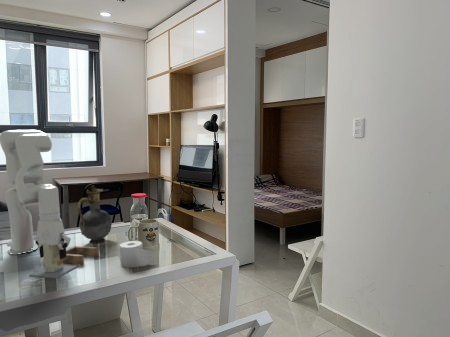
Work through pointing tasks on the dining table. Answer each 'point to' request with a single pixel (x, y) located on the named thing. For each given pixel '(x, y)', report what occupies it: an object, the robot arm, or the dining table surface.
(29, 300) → the dining table surface
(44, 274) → the grey mat
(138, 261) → the toilet tissue
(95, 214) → the pitcher
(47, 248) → the skincare box
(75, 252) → the walnut cradle
